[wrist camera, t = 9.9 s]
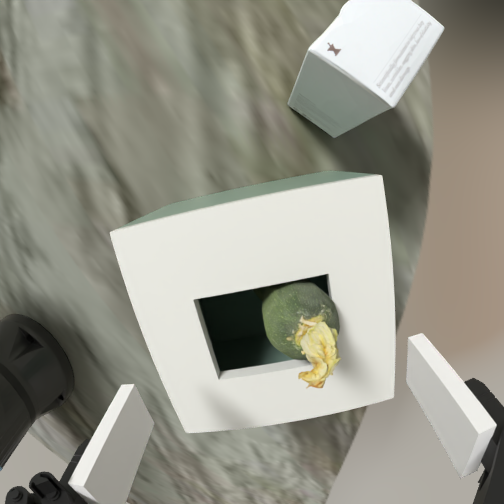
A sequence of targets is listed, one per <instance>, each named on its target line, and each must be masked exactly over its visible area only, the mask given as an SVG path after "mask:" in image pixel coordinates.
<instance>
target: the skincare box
mask: <svg viewBox="0 0 504 504" xmlns="http://www.w3.org/2000/svg"><path fill="white" fill-rule="evenodd" d="M443 30H444V27H443V26H442V25H441V24H440V23H439V22H438V21H436V20H435V19H434V18H433V17H432V16H431V15H429V14H428V13H427V12H425V11H424V10H423V9H422V8H420V7H419V6H418V5H416V4H415V3H414V2H412V1H411V0H350V1H348V2H347V3H346V4H345V5H344V6H343V7H342V9H341V10H340V14H339V15H338V16H337V18H336V19H335V20H334V21H333V22H332V24H331V25H330V26H329V27H328V28H327V29H326V31H325V32H324V33H323V34H322V35H321V36H320V37H319V38H318V39H317V40H316V41H315V42H314V43H313V44H312V45H311V46H310V47H309V49H308V51H307V54H306V56H305V59H304V62H303V64H302V67H301V69H300V72H299V75H298V77H297V80H296V82H295V85H294V88H293V90H292V93H291V96H290V98H289V101H288V106H290V107H291V108H293V109H294V110H296V111H297V112H298V113H300V114H301V115H303V116H304V117H306V118H307V119H308V120H310V121H311V122H313V123H314V124H316V125H317V126H318V127H320V128H321V129H322V130H324V131H325V132H327V133H328V134H329V135H331V136H332V137H333V138H336V137H338V136H340V135H341V134H343V133H345V132H347V131H349V130H351V129H353V128H355V127H356V126H358V125H360V124H362V123H364V122H366V121H367V120H369V119H371V118H373V117H375V116H377V115H379V114H381V113H383V112H385V111H387V110H389V109H391V108H394V107H395V106H396V104H397V103H398V101H399V100H400V98H401V97H402V95H403V94H404V92H405V91H406V89H407V88H408V87H409V85H410V84H411V82H412V81H413V79H414V78H415V76H416V75H417V73H418V72H419V70H420V68H421V67H422V65H423V64H424V62H425V61H426V59H427V57H428V56H429V54H430V52H431V51H432V49H433V48H434V46H435V44H436V43H437V41H438V39H439V38H440V36H441V34H442V32H443Z"/></svg>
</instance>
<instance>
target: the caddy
mask: <svg viewBox="0 0 504 504" xmlns="http://www.w3.org/2000/svg"><path fill="white" fill-rule="evenodd" d="M110 236H111V239H112V243H113V246H114V250H115V253H116V256H117V260H118V263H119V266H120V269H121V273H122V276H123V279H124V282H125V285H126V288H127V291H128V294H129V297H130V300H131V303H132V306H133V309H134V311H135V314H136V317H137V320H138V322H139V325H140V328H141V331H142V333H143V336H144V338H145V341H146V344H147V346H148V349H149V351H150V354H151V356H152V359H153V361H154V363H155V366H156V368H157V371H158V373H159V375H160V378H161V380H162V382H163V385H164V387H165V389H166V391H167V394H168V396H169V398H170V400H171V402H172V405H173V407H174V409H175V411H176V413H177V415H178V417H179V419H180V421H181V423H182V425H183V428H184V430H185V432H186V433H197V432H212V431H224V430H235V429H244V428H252V427H260V426H268V425H274V424H281V423H287V422H293V421H299V420H304V419H310V418H315V417H320V416H324V415H329V414H334V413H338V412H342V411H347V410H351V409H355V408H359V407H363V406H367V405H370V404H374V403H378V402H381V401H385V400H388V399H391V398H394V384H395V298H394V279H393V264H392V252H391V241H390V231H389V222H388V214H387V206H386V198H385V191H384V185H383V178H382V175H376V174H366V173H355V172H343V171H324V172H318V173H313V174H307V175H302V176H296V177H291V178H286V179H281V180H276V181H271V182H266V183H261V184H256V185H251V186H246V187H242V188H237V189H232V190H228V191H223V192H219V193H214V194H210V195H206V196H201V197H197V198H193V199H189V200H185V201H181V202H176V203H172V204H169V205H167V206H165V207H163V208H160V209H158V210H156V211H154V212H152V213H149V214H147V215H145V216H143V217H141V218H139V219H137V220H135V221H132V222H130V223H128V224H126V225H124V226H122V227H120V228H118V229H116V230H114V231H112V232H110ZM305 278H307V279H309V280H310V281H311V282H313V283H314V284H316V285H317V286H318V287H319V288H320V289H322V290H323V291H324V292H325V293H326V294H327V295H328V296H329V297H330V298H331V299H332V301H333V302H334V304H335V306H336V309H337V312H338V316H339V323H340V330H339V334H338V336H337V338H338V339H337V342H336V344H337V349H339V356H340V357H341V359H342V360H340V361H339V364H338V365H337V366H336V367H335V368H334V369H335V370H334V371H333V375H329V376H328V377H327V378H326V381H325V384H324V386H323V388H315V387H312V386H310V387H308V388H307V389H306V387H307V386H308V385H309V383H307V382H305V381H304V380H302V379H301V378H300V379H298V375H299V373H301V372H306V371H311V370H312V369H313V366H312V364H311V362H310V361H308V360H295V359H292V358H290V357H288V356H287V355H285V354H283V353H282V352H280V351H279V350H278V349H276V348H275V347H274V346H273V345H272V344H271V342H270V340H269V339H268V337H267V334H266V330H265V326H264V320H263V313H262V300H261V299H259V297H258V296H257V295H256V294H255V292H254V291H253V290H252V289H254V288H259V287H265V286H270V285H275V284H280V283H285V282H290V281H295V280H300V279H305Z"/></svg>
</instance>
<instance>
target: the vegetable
mask: <svg viewBox="0 0 504 504" xmlns="http://www.w3.org/2000/svg"><path fill="white" fill-rule="evenodd" d="M252 290H253V291H254V292H255V294H256V295H257V296H258V297H259V299H261V300H262V313H263V320H264V326H265V330H266V334H267V337H268V339H269V340H270V342H271V344H272V345H273V346H274V347H275V348H276V349H278V350H279V351H280V352H282V353H283V354H285V355H287V356H288V357H290V358H292V359H295V360H308V361H310V362H311V364H312V366H313V369H312V370H311V371H306V372H301V373H299V375H298V379H300V378H301V379H302V380H304V381H305V382H307V383H309V385H308V386H307V387H306V389H307V388H308V387H310V386H312V387H315V388H323V386H324V384H325V381H326V378H327V377H328V376H329V375H333V371H334V370H335V369H334V368H335V367H336V366H337V365H338V364H339V361H340V360H342V359H341V357H340V356H339V349H337V344H336V342H337V339H338V338H337V336H338V334H339V330H340V323H339V316H338V312H337V309H336V306H335V304H334V302H333V301H332V299H331V298H330V297H329V296H328V295H327V294H326V293H325V292H324V291H323V290H322V289H320V288H319V287H318V286H317V285H316V284H314V283H313V282H311V281H310V280H309V279H307V278H305V279H300V280H295V281H290V282H285V283H280V284H275V285H270V286H265V287H259V288H254V289H252Z"/></svg>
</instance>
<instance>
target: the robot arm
mask: <svg viewBox="0 0 504 504" xmlns="http://www.w3.org/2000/svg"><path fill="white" fill-rule="evenodd" d="M406 383H407V385H408V386H409V388H410V390H411V391H412V393H413V395H414V396H415V398H416V400H417V401H418V403H419V405H420V406H421V408H422V410H423V412H424V413H425V415H426V417H427V418H428V420H429V422H430V424H431V426H432V427H433V429H434V431H435V433H436V434H437V436H438V438H439V440H440V442H441V443H442V445H443V447H444V449H445V451H446V453H447V454H448V456H449V458H450V460H451V462H452V464H453V465H454V468H455V469H456V471H457V473H458V475H459V477H460V478H463V477H465V476H467V475H469V474H471V473H473V472H475V471H477V470H478V468H479V466H480V463H482V464H483V466H484V468H485V470H484V472H483V474H482V476H481V478H480V480H479V481H478V483H480V484H479V487H478V490H477V493H476V496H475V499H474V502H473V504H504V407H503V406H502V405H501V403H500V402H499V401H498V400H497V398H495V396H494V395H493V394H492V393H491V392H490V390H489V389H488V388H487V387H486V386H485V384H483V383H482V382H480V381H479V380H476V379H475V378H472V379H470V380H468V381H465V382H463V381H462V379H461V378H460V377H459V376H458V375H457V373H456V372H455V371H454V370H453V368H452V367H451V366H450V365H449V364H448V362H447V361H446V360H445V359H444V358H443V357H442V355H441V354H440V353H439V352H438V351H437V349H436V348H435V347H434V346H433V345H432V344H431V342H430V341H429V340H428V339H427V338H426V337H425V336H424V335H423V333H421V334H418V335H414V336H411V337H408V356H407V376H406ZM73 387H74V376H73V372H72V368H71V365H70V363H69V361H68V358H67V356H66V355H65V353H64V351H63V350H62V348H61V347H60V345H59V344H58V343H57V341H56V340H55V339H54V338H53V336H52V335H51V334H50V333H49V332H48V331H47V330H46V329H44V328H43V327H42V326H41V325H40V324H38V323H37V322H35V321H34V320H32V319H30V318H28V317H26V316H23V315H19V314H11V315H8V316H6V317H5V318H3V319H2V320H0V471H1V470H2V469H3V466H4V465H5V463H6V462H7V460H8V459H9V457H10V456H11V454H12V453H13V451H14V450H15V449H16V447H17V446H18V444H19V443H20V441H21V440H22V438H23V437H24V435H25V434H26V432H27V431H28V430H29V428H30V427H31V426H32V424H33V423H34V422H35V420H36V419H38V418H40V417H41V416H43V415H45V414H47V413H49V412H51V411H52V410H54V409H56V408H58V407H60V406H61V405H62V404H63V403H64V402H65V401H66V400H67V398H68V397H69V396H70V394H71V393H72V391H73ZM153 426H154V421H153V420H152V418H151V416H150V414H149V412H148V410H147V408H146V406H145V404H144V402H143V400H142V398H141V396H140V394H139V392H138V390H137V388H136V386H135V384H128V385H121V387H120V389H119V390H118V392H117V394H116V396H115V397H114V399H113V401H112V403H111V404H110V406H109V408H108V410H107V412H106V413H105V415H104V417H103V419H102V421H101V422H100V424H99V426H98V428H97V430H96V431H95V433H94V435H93V437H92V439H91V440H88V439H86V440H85V441H84V442H83V443H82V444H81V445H80V446H79V447H78V449H77V450H76V452H75V454H74V455H75V456H73V458H72V459H71V462H70V463H69V465H68V467H67V469H66V470H65V472H64V474H63V476H62V478H61V480H60V481H58V480H57V479H56V478H55V477H54V476H53V475H52V474H51V473H49V472H40V473H38V474H36V475H35V476H34V477H33V478H32V479H31V481H30V483H29V488H30V489H31V490H32V491H33V492H34V493H29V492H28V491H27V490H26V489H25V488H24V487H22V486H17V487H13V488H12V489H11V490H10V491H9V492H8V493H7V496H6V501H5V504H125V503H126V501H127V498H128V495H129V492H130V489H131V486H132V484H133V481H134V478H135V475H136V472H137V470H138V467H139V464H140V461H141V459H142V456H143V453H144V450H145V448H146V445H147V442H148V439H149V437H150V434H151V431H152V429H153Z"/></svg>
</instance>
